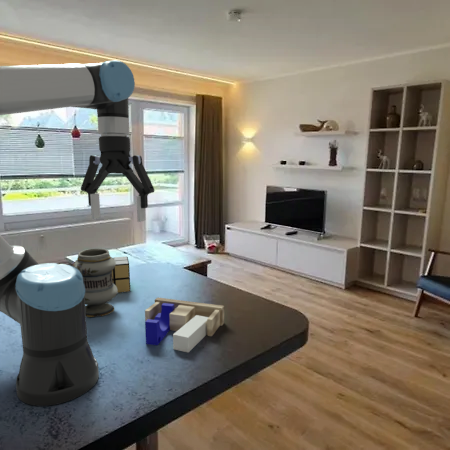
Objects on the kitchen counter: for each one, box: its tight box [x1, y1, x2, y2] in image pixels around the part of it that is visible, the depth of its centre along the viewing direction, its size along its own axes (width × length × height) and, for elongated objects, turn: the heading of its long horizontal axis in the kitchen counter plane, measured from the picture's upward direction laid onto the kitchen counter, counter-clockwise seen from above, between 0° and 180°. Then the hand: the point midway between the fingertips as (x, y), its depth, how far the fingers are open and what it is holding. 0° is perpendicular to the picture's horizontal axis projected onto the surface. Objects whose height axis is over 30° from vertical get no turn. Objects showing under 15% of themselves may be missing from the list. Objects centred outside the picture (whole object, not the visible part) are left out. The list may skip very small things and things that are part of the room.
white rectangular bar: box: [172, 315, 209, 353], centre depth 93 cm, size 12×4×4 cm, turn 157°
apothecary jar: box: [72, 248, 118, 318], centre depth 110 cm, size 12×12×18 cm
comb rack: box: [144, 297, 225, 337], centre depth 102 cm, size 8×20×5 cm, turn 72°
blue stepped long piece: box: [144, 303, 174, 346], centre depth 97 cm, size 12×4×6 cm, turn 168°
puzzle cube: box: [112, 255, 131, 294], centre depth 129 cm, size 10×10×10 cm
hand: (118, 219), depth 98 cm, fingers open, 13 cm apart
